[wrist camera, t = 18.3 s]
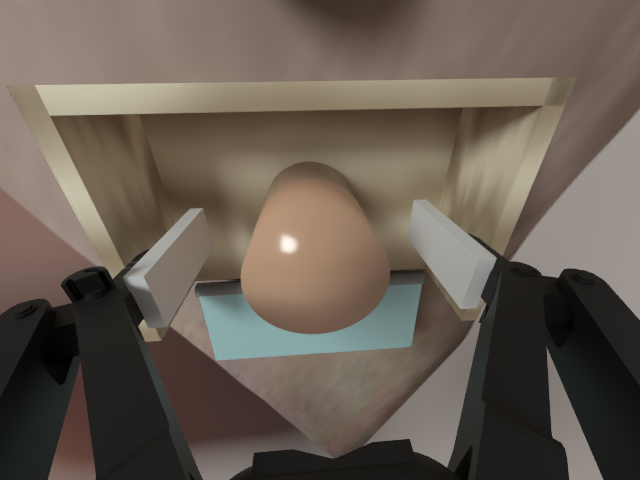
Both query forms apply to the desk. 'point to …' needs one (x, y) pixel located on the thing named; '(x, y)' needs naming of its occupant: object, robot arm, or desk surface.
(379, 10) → the desk surface
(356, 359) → the desk surface
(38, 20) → the desk surface
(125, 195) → the crate
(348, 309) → the brown egg
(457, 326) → the desk surface
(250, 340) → the cabinet door
